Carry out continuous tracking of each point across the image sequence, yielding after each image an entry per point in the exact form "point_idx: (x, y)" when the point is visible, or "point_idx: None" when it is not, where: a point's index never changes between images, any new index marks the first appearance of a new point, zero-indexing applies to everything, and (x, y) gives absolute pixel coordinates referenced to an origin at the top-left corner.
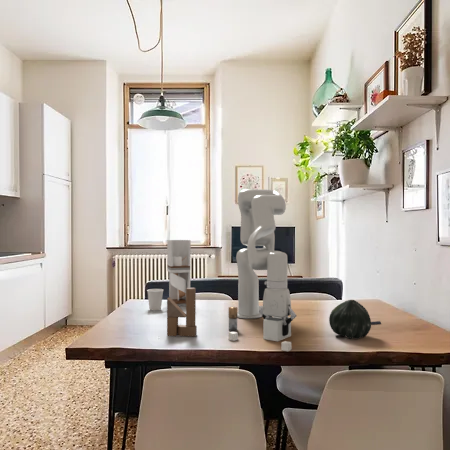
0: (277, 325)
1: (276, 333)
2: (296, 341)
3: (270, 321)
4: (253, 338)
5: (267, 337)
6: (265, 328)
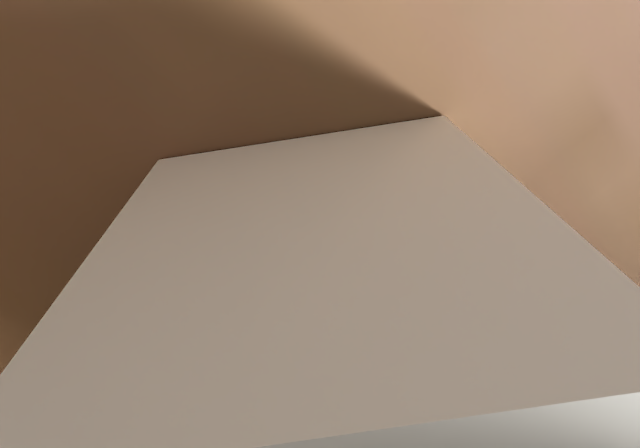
0: (17, 361)
1: (144, 218)
2: (7, 345)
3: (318, 409)
4: (615, 6)
5: (365, 139)
6: (465, 205)
